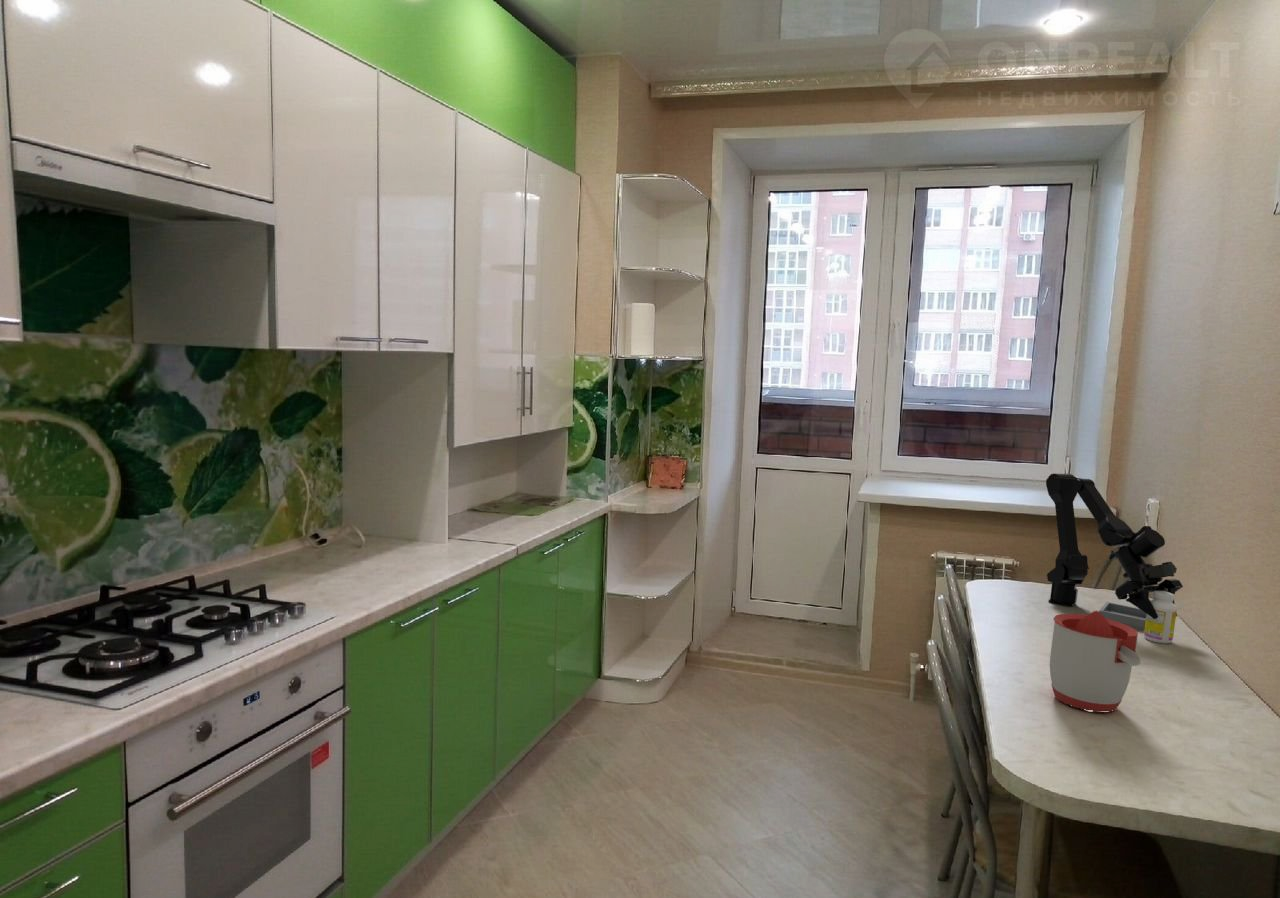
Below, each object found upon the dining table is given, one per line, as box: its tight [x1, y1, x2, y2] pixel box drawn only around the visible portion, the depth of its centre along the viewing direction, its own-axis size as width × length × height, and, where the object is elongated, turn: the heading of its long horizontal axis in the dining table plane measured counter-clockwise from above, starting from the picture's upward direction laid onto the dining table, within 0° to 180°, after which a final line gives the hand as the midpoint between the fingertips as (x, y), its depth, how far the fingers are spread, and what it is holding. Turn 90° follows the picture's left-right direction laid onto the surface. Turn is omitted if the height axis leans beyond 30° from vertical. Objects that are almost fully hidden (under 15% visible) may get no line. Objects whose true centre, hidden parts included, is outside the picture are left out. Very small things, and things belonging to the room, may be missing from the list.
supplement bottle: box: [1143, 591, 1178, 644], centre depth 227 cm, size 7×7×13 cm
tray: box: [1098, 601, 1147, 632], centre depth 243 cm, size 13×13×3 cm
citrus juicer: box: [1049, 610, 1141, 712], centre depth 178 cm, size 16×17×20 cm
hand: (1165, 617), depth 226 cm, fingers closed on supplement bottle, 7 cm apart
